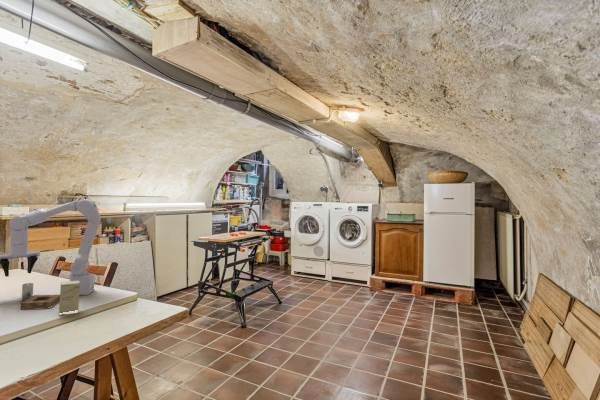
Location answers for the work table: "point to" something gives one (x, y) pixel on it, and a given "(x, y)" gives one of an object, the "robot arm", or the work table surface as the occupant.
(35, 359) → the work table surface
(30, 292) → the pin
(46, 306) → the socket block
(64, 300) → the skincare box
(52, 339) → the work table surface
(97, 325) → the work table surface
